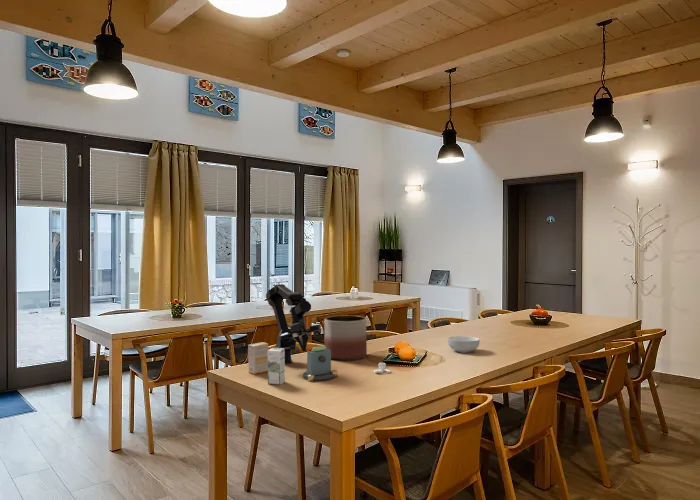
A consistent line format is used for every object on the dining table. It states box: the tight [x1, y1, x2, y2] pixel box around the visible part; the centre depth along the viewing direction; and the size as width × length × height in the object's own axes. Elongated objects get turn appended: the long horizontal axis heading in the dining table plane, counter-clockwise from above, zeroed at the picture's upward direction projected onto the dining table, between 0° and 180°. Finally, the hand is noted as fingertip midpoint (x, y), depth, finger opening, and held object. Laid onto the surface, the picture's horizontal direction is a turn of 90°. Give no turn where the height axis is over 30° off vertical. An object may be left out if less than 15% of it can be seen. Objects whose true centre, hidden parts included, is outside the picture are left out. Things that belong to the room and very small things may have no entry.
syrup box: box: [267, 347, 286, 386], centre depth 214 cm, size 6×6×14 cm
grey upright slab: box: [306, 345, 332, 375], centre depth 222 cm, size 6×10×12 cm, turn 123°
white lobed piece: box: [373, 362, 392, 375], centre depth 232 cm, size 9×8×4 cm
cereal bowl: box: [447, 335, 480, 354], centre depth 274 cm, size 17×17×7 cm
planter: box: [323, 314, 368, 361], centre depth 263 cm, size 22×22×20 cm
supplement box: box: [247, 341, 269, 375], centre depth 232 cm, size 8×5×13 cm, turn 134°
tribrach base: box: [302, 369, 339, 383], centre depth 224 cm, size 15×15×2 cm
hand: (304, 351), depth 232 cm, fingers closed
